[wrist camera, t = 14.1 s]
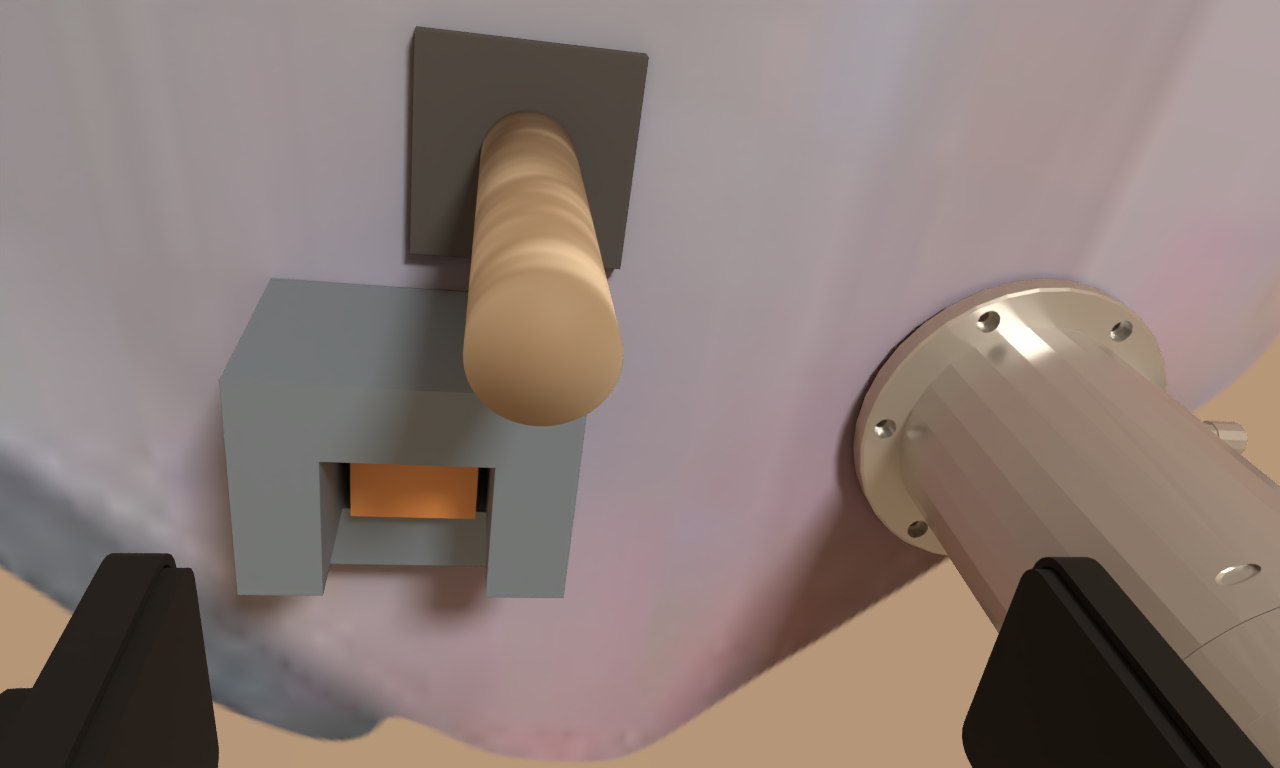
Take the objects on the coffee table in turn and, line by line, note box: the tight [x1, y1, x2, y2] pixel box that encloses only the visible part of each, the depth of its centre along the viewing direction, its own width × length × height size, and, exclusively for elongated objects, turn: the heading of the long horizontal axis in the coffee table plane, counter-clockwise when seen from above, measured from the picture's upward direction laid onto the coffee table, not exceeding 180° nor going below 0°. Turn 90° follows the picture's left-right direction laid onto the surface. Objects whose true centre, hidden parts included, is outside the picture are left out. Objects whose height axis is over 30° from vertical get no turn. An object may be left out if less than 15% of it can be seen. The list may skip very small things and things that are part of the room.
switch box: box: [219, 279, 587, 598], centre depth 32 cm, size 10×10×7 cm
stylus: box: [463, 110, 623, 426], centre depth 24 cm, size 3×3×14 cm
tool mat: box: [410, 26, 649, 269], centre depth 30 cm, size 7×7×1 cm
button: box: [350, 463, 479, 519], centre depth 33 cm, size 4×4×2 cm
